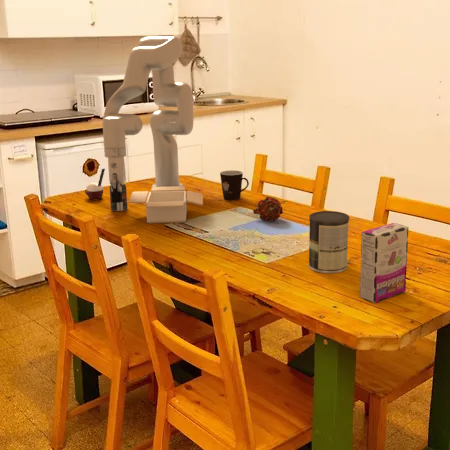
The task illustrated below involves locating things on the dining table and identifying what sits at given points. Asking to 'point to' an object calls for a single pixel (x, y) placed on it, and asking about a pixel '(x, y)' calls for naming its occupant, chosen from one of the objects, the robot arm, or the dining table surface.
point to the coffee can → (328, 241)
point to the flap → (194, 198)
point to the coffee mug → (232, 184)
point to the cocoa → (95, 188)
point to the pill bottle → (123, 203)
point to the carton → (163, 204)
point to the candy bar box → (383, 262)
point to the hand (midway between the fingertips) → (118, 199)
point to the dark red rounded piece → (268, 209)
